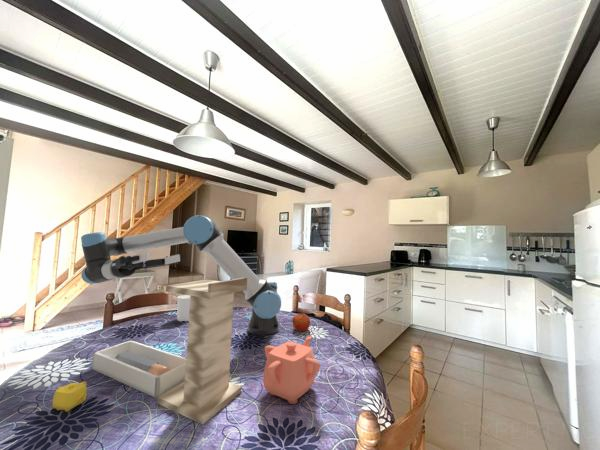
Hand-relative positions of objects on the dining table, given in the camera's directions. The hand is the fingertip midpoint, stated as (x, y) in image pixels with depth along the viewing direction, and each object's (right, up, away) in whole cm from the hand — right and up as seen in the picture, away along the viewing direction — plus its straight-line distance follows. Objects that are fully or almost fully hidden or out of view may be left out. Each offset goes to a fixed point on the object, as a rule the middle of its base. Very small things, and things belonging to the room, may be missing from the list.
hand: (165, 256), depth 86 cm
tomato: (+49, -41, +33) cm, 72 cm away
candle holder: (-13, -39, +43) cm, 60 cm away
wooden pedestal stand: (+22, -35, -21) cm, 47 cm away
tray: (-2, -35, -10) cm, 37 cm away
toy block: (-9, -34, -26) cm, 44 cm away
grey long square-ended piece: (-1, -35, -11) cm, 36 cm away
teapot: (+46, -37, -16) cm, 61 cm away
